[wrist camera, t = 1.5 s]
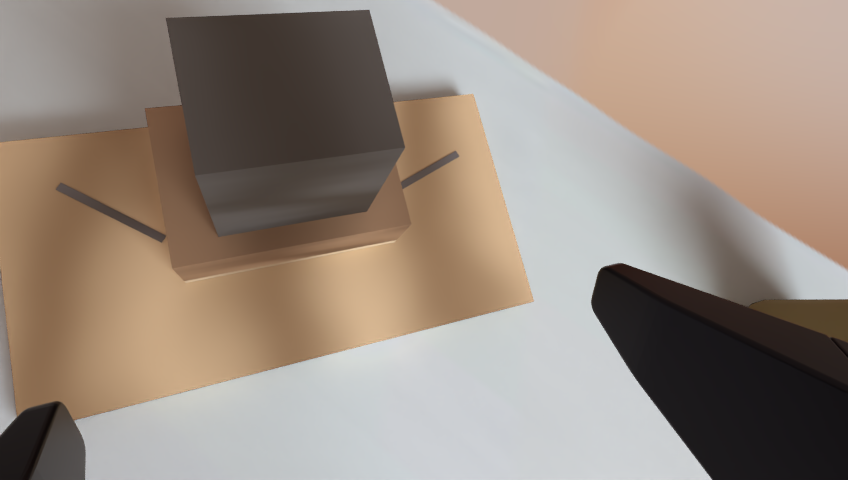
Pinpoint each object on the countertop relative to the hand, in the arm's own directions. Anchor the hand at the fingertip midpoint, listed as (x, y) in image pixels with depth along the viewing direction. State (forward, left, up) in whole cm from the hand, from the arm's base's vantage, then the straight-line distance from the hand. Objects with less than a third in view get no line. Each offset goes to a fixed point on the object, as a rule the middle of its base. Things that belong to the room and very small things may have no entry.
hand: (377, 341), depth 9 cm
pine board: (+4, +3, -13) cm, 14 cm away
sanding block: (+5, +4, -11) cm, 13 cm away
